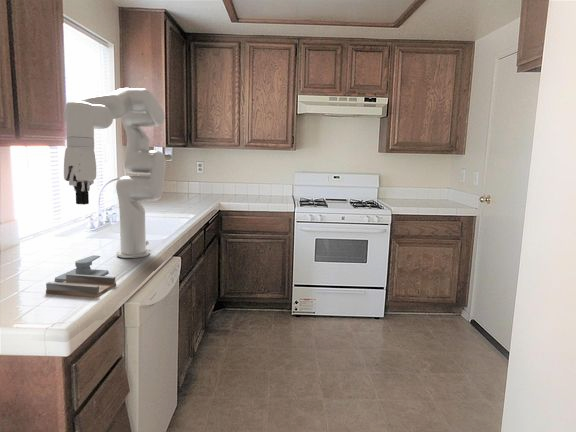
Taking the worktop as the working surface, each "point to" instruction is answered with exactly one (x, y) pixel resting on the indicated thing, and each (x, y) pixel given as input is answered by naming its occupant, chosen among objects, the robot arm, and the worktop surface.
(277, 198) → the worktop surface
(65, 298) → the worktop surface
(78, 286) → the stand
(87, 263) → the shower valve
